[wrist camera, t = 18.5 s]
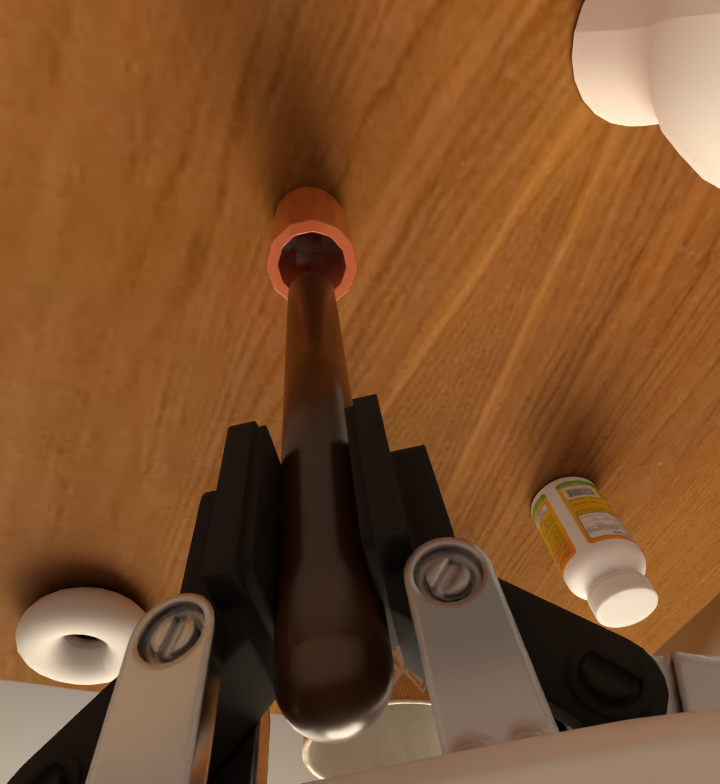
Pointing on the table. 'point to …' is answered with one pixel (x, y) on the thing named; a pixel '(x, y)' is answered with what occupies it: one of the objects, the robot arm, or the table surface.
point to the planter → (383, 733)
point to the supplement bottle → (594, 551)
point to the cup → (655, 71)
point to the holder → (310, 241)
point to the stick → (323, 542)
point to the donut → (77, 616)
